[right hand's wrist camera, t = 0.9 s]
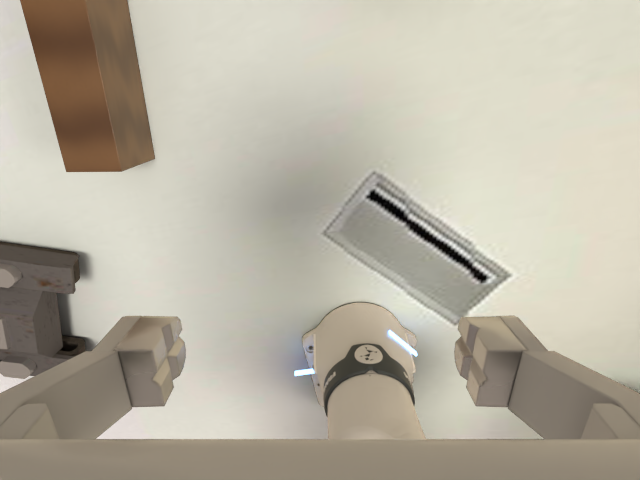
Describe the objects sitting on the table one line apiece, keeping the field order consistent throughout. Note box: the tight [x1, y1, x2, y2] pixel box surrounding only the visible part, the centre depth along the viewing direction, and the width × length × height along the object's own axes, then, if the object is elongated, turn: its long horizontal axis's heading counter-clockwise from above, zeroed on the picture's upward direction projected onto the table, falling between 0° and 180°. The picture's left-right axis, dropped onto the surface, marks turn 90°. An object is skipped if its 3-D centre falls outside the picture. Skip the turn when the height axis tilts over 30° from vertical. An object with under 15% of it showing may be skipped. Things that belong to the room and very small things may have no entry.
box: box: [20, 0, 155, 172], centre depth 41 cm, size 26×6×9 cm, turn 0°
